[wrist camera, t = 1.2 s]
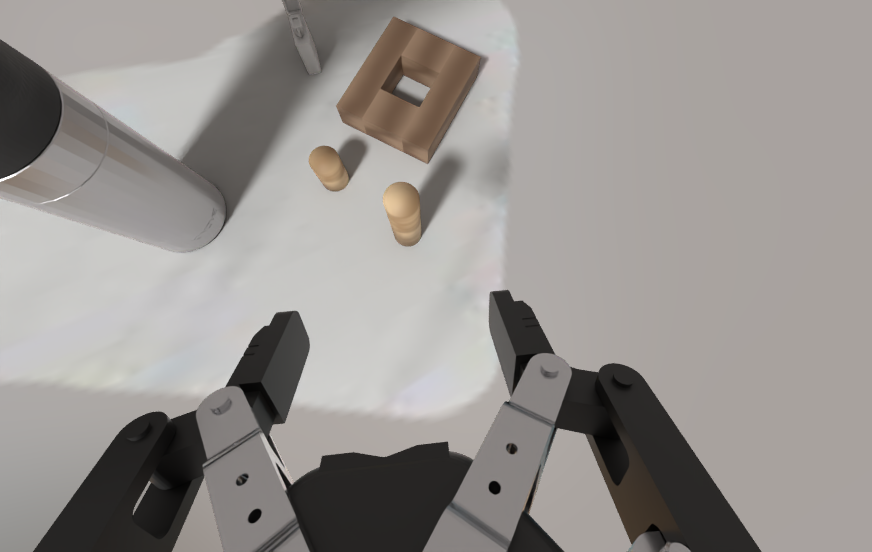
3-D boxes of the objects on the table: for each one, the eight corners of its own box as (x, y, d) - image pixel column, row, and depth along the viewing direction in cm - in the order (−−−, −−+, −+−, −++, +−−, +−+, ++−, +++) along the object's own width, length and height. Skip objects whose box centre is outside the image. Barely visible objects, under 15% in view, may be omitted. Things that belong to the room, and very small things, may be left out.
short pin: (317, 184, 39) (303, 165, 34) (330, 162, 39) (318, 141, 35) (340, 195, 38) (329, 178, 34) (353, 174, 39) (344, 153, 35)
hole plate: (342, 122, 40) (336, 105, 37) (396, 38, 42) (393, 16, 39) (427, 164, 39) (427, 150, 37) (476, 76, 42) (480, 57, 39)
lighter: (322, 72, 41) (297, 11, 33) (308, 75, 41) (280, 14, 33) (310, 26, 42) (284, -43, 35) (297, 29, 42) (267, -40, 34)
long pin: (389, 238, 38) (376, 206, 28) (402, 216, 38) (393, 176, 28) (413, 251, 38) (408, 222, 28) (426, 227, 38) (425, 191, 28)
